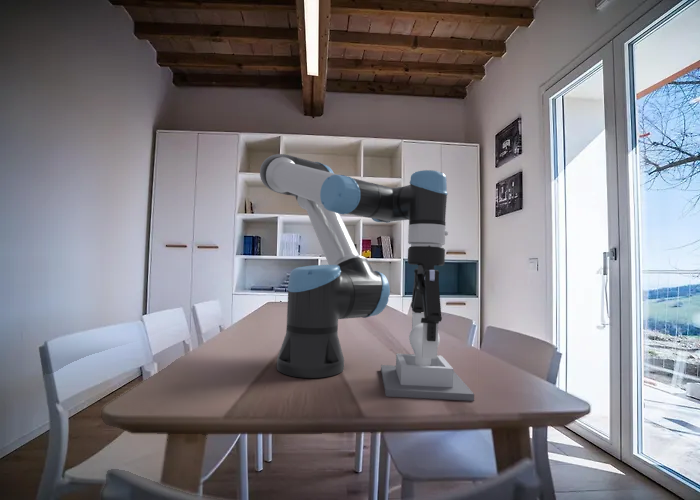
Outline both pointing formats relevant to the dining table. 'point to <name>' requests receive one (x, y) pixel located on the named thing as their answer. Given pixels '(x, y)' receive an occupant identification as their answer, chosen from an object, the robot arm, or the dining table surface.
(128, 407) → the dining table surface
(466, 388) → the lamp socket
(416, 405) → the dining table surface
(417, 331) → the lightbulb
